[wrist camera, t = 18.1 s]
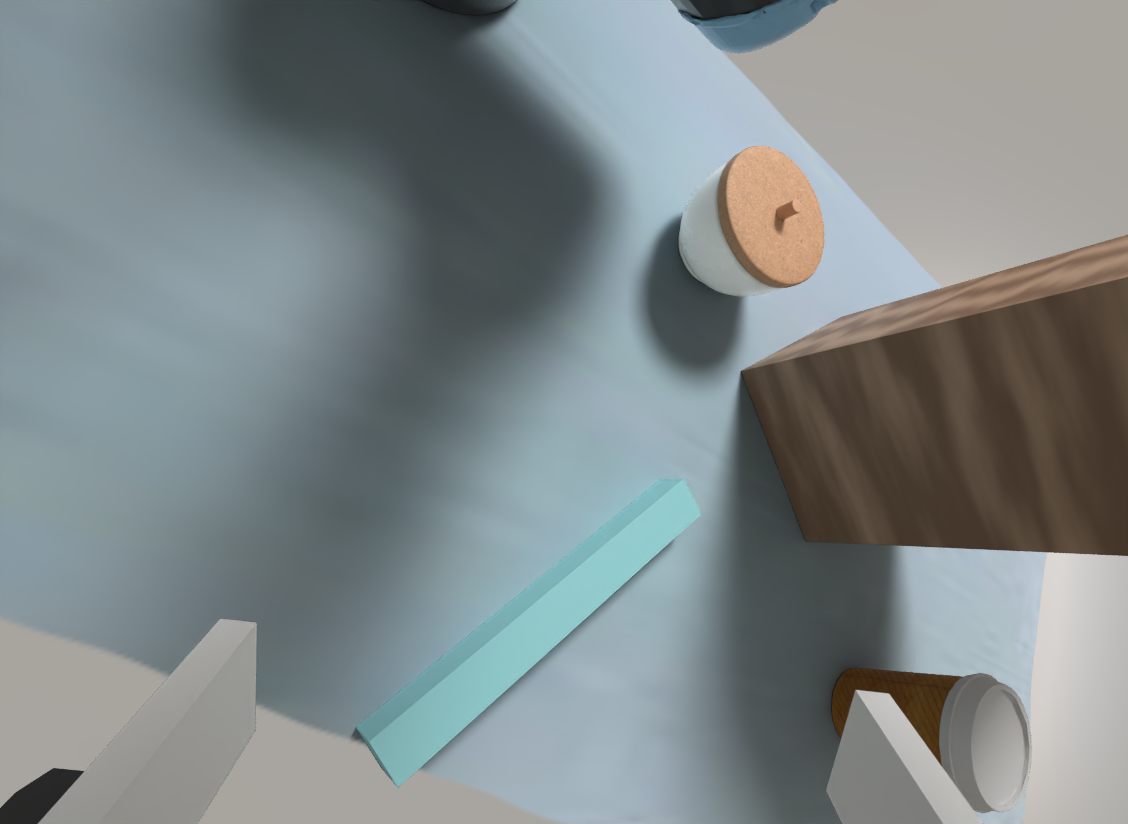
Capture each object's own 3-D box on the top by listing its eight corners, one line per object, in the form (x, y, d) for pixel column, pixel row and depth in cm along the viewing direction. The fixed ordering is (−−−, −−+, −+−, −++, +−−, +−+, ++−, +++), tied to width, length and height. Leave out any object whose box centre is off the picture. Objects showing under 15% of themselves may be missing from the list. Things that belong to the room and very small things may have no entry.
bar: (381, 768, 36) (398, 787, 34) (354, 725, 36) (368, 741, 33) (674, 513, 50) (701, 513, 47) (657, 479, 49) (684, 478, 47)
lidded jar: (704, 336, 53) (799, 305, 45) (633, 224, 51) (720, 171, 43) (767, 271, 59) (861, 234, 51) (705, 168, 56) (795, 111, 48)
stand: (805, 541, 56) (1327, 564, 31) (740, 371, 55) (1233, 251, 30) (896, 465, 65) (1363, 436, 40) (842, 316, 63) (1291, 187, 38)
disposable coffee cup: (890, 750, 59) (1041, 800, 49) (823, 775, 54) (975, 836, 44) (881, 641, 60) (1026, 667, 50) (814, 656, 55) (960, 688, 45)
